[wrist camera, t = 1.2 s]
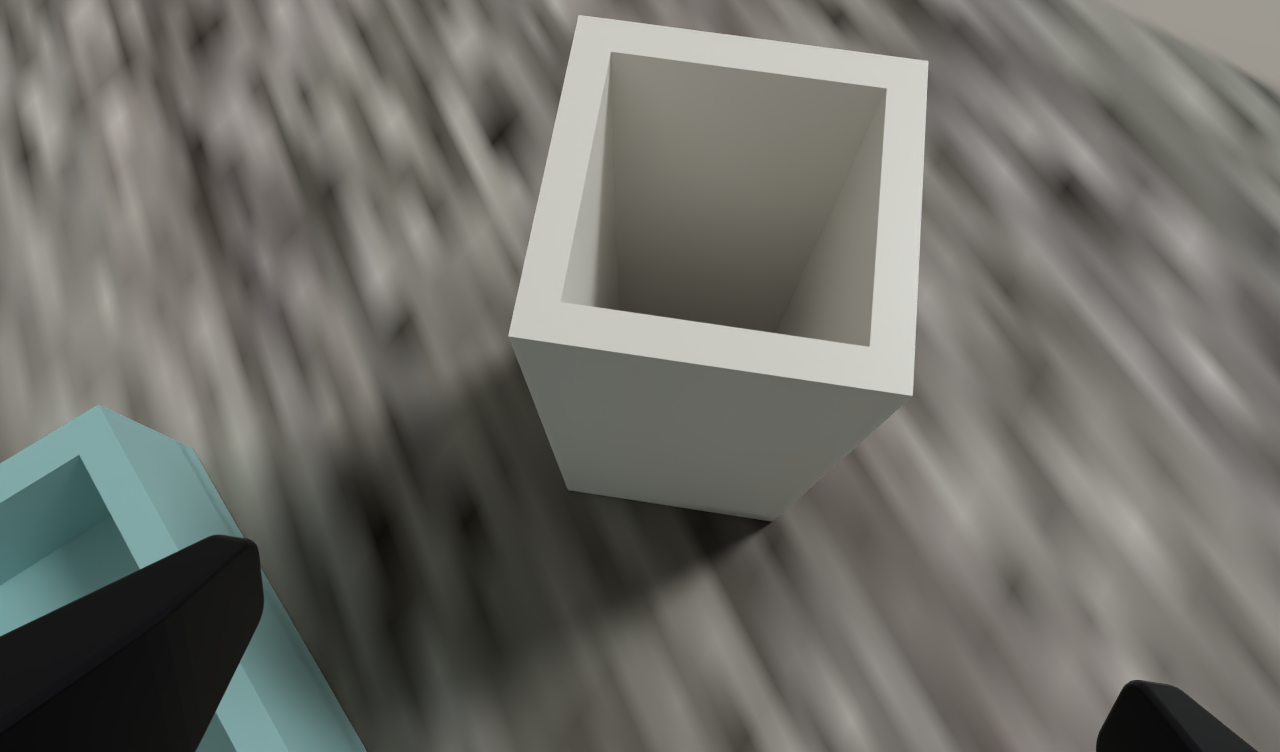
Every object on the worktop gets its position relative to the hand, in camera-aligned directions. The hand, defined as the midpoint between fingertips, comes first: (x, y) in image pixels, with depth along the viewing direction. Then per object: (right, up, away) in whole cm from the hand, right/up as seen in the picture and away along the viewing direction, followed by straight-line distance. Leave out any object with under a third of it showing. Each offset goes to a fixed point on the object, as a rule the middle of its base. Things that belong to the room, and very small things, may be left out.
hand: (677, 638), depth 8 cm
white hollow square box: (+1, +2, +14) cm, 14 cm away
